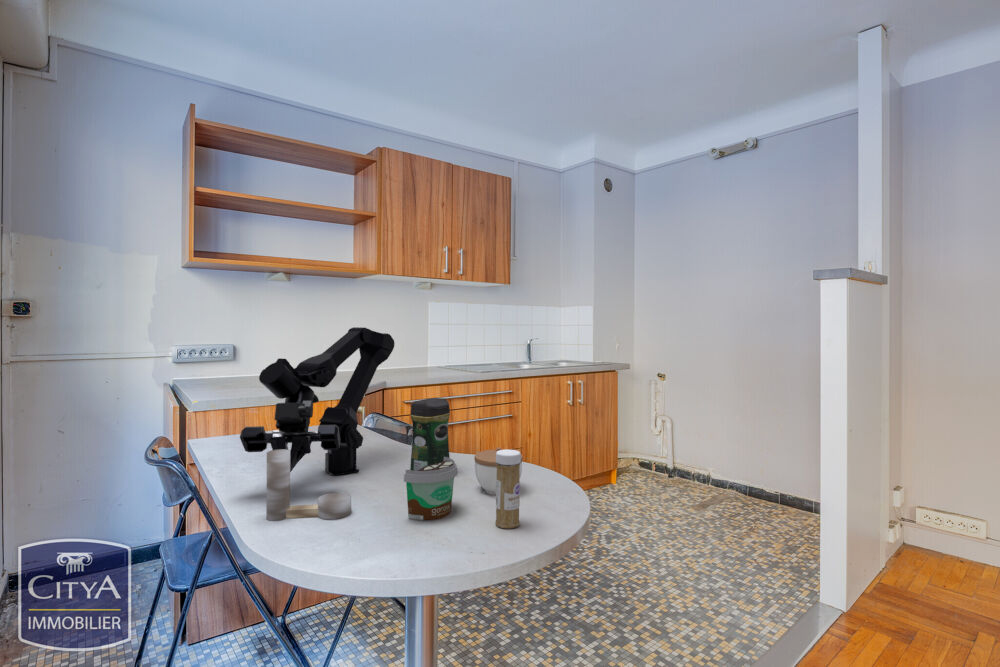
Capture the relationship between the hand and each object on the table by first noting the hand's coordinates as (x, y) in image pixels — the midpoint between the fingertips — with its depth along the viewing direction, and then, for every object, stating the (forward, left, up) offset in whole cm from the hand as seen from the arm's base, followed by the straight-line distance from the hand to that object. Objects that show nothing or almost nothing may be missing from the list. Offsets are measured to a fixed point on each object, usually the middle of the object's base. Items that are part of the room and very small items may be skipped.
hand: (285, 475), depth 100 cm
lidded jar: (-42, +14, -7) cm, 44 cm away
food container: (-23, +21, -7) cm, 31 cm away
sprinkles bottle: (-32, +31, -7) cm, 45 cm away
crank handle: (-3, +8, -6) cm, 10 cm away
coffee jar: (-35, -5, -7) cm, 36 cm away
